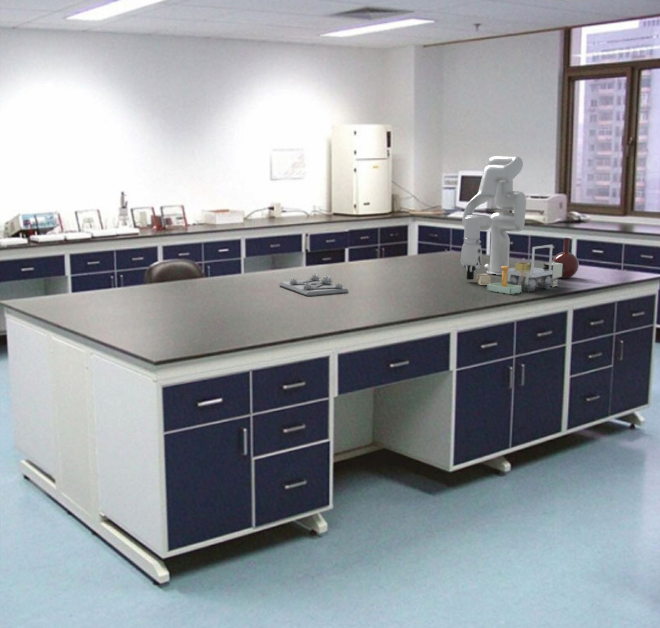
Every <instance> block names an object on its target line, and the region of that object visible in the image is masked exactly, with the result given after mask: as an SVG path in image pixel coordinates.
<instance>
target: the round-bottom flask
mask: <svg viewBox="0 0 660 628" xmlns="http://www.w3.org/2000/svg"><path fill="white" fill-rule="evenodd" d="M570 240H571V238H568V237H565V238H564V237H563V251H562V252H558V253H556V255H555V256H554V257H552V263H553V261H554V262H555V263H562V264H563V267H564V272H563V276H562V277H559V278H560V279H569V278H572V277H573V276H575V275H576V274H577V272H578V270H579V264H580V263H579V260H578V258H577V256H576V255H575V254H573V253H572V252H569V250H570Z"/></svg>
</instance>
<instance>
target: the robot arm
mask: <svg viewBox="0 0 660 628" xmlns="http://www.w3.org/2000/svg"><path fill="white" fill-rule="evenodd" d="M523 163H524V162H523V159H522V158H521V157H520V156H517V155H493V156H491V157H490V158H489V160H488V165H487V166H485V167H484V169H483V172H482V174H481V175H482V176H481V180H480V184H479V187H478V192H477V194H475V195H474V196H473V197H472V198H471V199H470V200H469V201H468V202H467V204H466V206H465V207H464V211H463V216H462V221H461V222H462V227H463V228H464V229H463V230H464V231H463V244H462V247H461V251H460V263H461V266H462V267H464V268H465V272H466V280H469V281H472V280H474V276H475V272H476V271H477V269H480V268H481V265H482V263H483V253H482V252H483V251H482V245H481V243H482V240H480V239H481V236H480V235H481V231H488V230H489V229H490V254H489V255H490V257H489V263H485V264H484V266H483V267H484V268H485V269H487V270H486V273H485V274H488V275H492V274H496V275H495V276H502V269H501V266H508V267H509V264H510V262H509V261H510V245H511V244H510V243H511V240H510V236H509V234H508V232H512V233H518V232H519V233H520V232H522V231H523V229H524V227H525V222H526V211H527V197H526V194H525V193H524V192H523V191H518V190H517V191H516V190H513V188H514V187H513V186H514V185H513V184H514V181H513V180H514V179H515V178H516V177H517V176H518V175H520V173H521V171H522V170H523V167H524V164H523ZM492 200H494V207H495V208H496V209H498V210H505V211H496V212H493V213H492V214H491V215H490V216H489V215H487V214H477V213H474V212H475V210H476V208H478V207H479V206H480V205H483V204H485V203H487V202H490V201H492ZM509 210H510V211H513V212H507V211H509ZM509 268H510V267H509Z"/></svg>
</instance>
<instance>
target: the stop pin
mask: <svg viewBox="0 0 660 628" xmlns="http://www.w3.org/2000/svg"><path fill="white" fill-rule="evenodd" d="M509 268H510V267H508V266H501V269H502V275H501V283H502V287H507V274H508V269H509Z"/></svg>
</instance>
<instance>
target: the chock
mask: <svg viewBox="0 0 660 628" xmlns="http://www.w3.org/2000/svg"><path fill="white" fill-rule="evenodd" d="M491 280H492V276H490V274H488V273H476V278H475V283H476V282H477V283H478V284H477V283H476V284H477V285H479V284H480V285H487V284H492V283H491ZM480 285H479V286H480Z"/></svg>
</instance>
